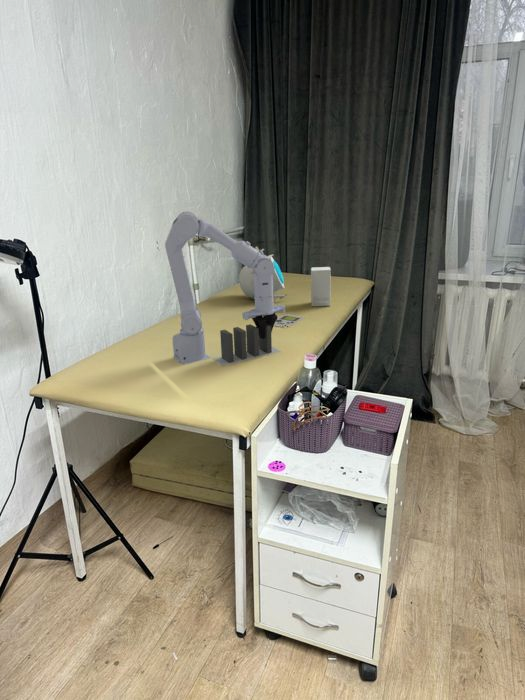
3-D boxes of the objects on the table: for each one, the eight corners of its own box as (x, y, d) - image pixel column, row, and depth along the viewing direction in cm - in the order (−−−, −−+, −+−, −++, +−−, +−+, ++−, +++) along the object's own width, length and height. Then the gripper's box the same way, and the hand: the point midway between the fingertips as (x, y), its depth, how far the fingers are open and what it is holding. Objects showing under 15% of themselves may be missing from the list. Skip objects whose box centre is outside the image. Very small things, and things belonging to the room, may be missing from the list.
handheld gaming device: (266, 324, 180) (285, 313, 192) (266, 326, 180) (285, 315, 192) (287, 327, 176) (305, 316, 188) (287, 329, 176) (305, 318, 188)
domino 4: (267, 353, 151) (266, 326, 148) (259, 349, 155) (258, 322, 152) (271, 352, 152) (271, 325, 149) (263, 348, 156) (262, 321, 153)
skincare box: (330, 302, 207) (331, 266, 202) (330, 306, 201) (331, 269, 196) (310, 302, 208) (311, 266, 203) (310, 306, 202) (311, 269, 197)
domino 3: (254, 356, 149) (254, 329, 146) (247, 351, 153) (245, 325, 150) (259, 355, 150) (258, 328, 146) (251, 350, 154) (250, 324, 150)
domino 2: (242, 359, 147) (241, 332, 144) (234, 354, 151) (233, 327, 148) (246, 358, 148) (245, 331, 144) (239, 353, 152) (237, 326, 148)
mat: (222, 367, 143) (222, 366, 143) (212, 360, 148) (212, 358, 148) (281, 353, 153) (281, 351, 153) (270, 346, 158) (269, 345, 158)
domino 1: (229, 363, 145) (227, 334, 141) (221, 357, 149) (220, 330, 145) (233, 361, 145) (232, 333, 142) (226, 356, 149) (224, 329, 146)
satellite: (231, 257, 221) (227, 272, 199) (270, 239, 218) (271, 253, 195) (252, 299, 230) (250, 319, 208) (290, 283, 226) (292, 301, 204)
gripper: (249, 302, 140) (251, 345, 145) (290, 294, 147) (291, 336, 152) (238, 297, 146) (240, 339, 151) (278, 290, 153) (278, 330, 158)
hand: (265, 337), depth 152 cm, fingers closed on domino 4, 2 cm apart
